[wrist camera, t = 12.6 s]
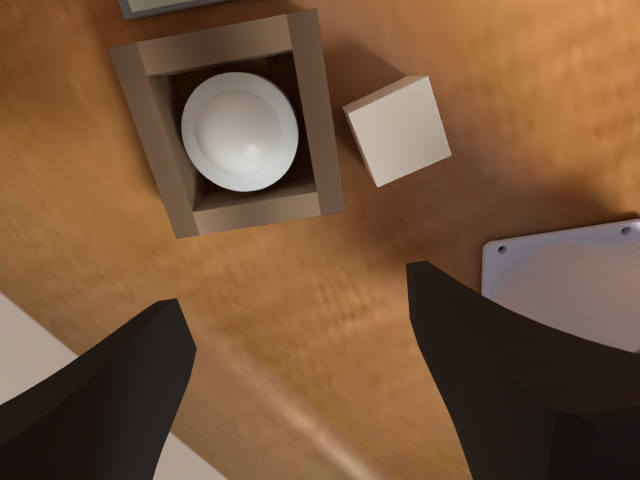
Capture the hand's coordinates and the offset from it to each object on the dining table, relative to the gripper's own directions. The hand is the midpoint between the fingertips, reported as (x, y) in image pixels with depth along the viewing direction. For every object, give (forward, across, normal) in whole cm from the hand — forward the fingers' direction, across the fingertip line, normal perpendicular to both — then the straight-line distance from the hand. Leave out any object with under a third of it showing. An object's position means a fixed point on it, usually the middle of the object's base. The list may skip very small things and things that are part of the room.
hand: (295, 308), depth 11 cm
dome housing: (+10, +2, -4) cm, 11 cm away
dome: (+11, +2, -4) cm, 12 cm away
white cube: (+10, -5, -4) cm, 12 cm away
